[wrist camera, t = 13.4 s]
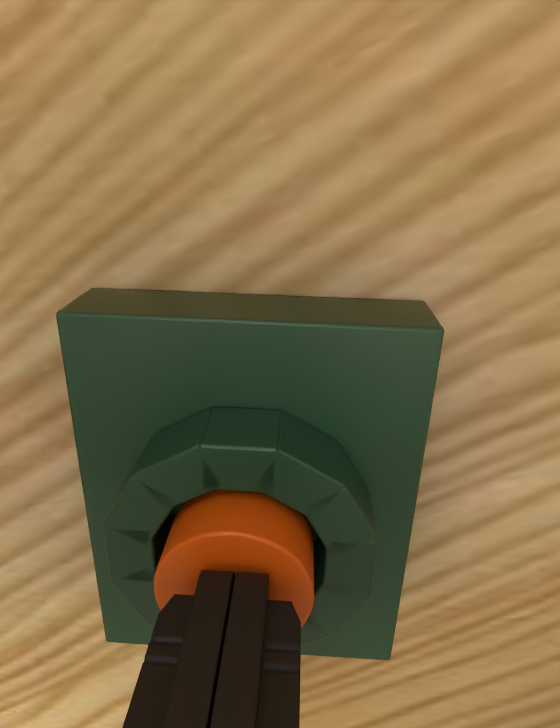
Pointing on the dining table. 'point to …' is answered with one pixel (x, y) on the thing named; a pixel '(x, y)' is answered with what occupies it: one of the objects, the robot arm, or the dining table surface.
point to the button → (239, 546)
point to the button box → (253, 438)
